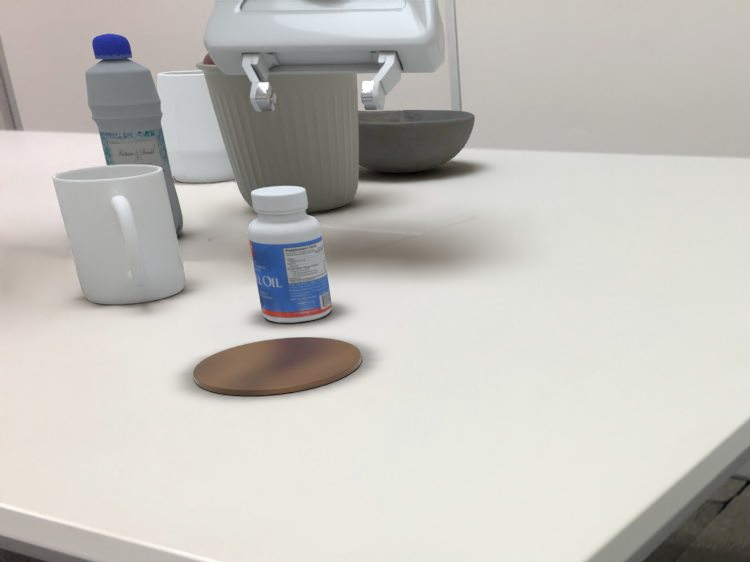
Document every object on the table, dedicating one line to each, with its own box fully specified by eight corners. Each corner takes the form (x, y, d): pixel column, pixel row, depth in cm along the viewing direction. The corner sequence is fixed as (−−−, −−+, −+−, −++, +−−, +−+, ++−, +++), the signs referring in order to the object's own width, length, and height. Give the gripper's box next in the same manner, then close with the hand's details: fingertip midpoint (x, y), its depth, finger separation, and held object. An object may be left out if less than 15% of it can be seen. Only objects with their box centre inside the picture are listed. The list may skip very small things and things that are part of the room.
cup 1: (179, 275, 93) (154, 161, 89) (203, 305, 84) (177, 179, 79) (79, 288, 89) (48, 170, 85) (93, 322, 80) (59, 191, 76)
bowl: (303, 172, 147) (294, 113, 144) (428, 156, 160) (422, 102, 156) (376, 189, 133) (368, 125, 129) (506, 171, 145) (502, 112, 142)
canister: (221, 200, 127) (186, 16, 118) (367, 189, 133) (345, 13, 124) (226, 227, 112) (186, 19, 103) (390, 213, 118) (366, 15, 109)
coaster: (179, 402, 64) (177, 396, 64) (209, 348, 74) (208, 343, 73) (358, 387, 66) (357, 381, 66) (364, 337, 76) (364, 332, 75)
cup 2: (278, 170, 149) (261, 68, 143) (229, 186, 137) (209, 75, 131) (195, 169, 151) (175, 68, 145) (140, 184, 139) (116, 76, 133)
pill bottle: (251, 314, 81) (228, 190, 77) (313, 301, 85) (294, 181, 80) (281, 328, 78) (259, 199, 73) (345, 314, 81) (327, 189, 77)
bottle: (119, 247, 104) (69, 35, 95) (120, 235, 110) (73, 33, 101) (189, 240, 107) (146, 33, 98) (187, 228, 112) (146, 31, 103)
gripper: (205, -50, 87) (178, 81, 83) (440, -54, 86) (425, 78, 82) (235, 7, 93) (212, 131, 89) (455, 3, 92) (443, 129, 88)
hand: (316, 106), depth 85 cm, fingers open, 8 cm apart
